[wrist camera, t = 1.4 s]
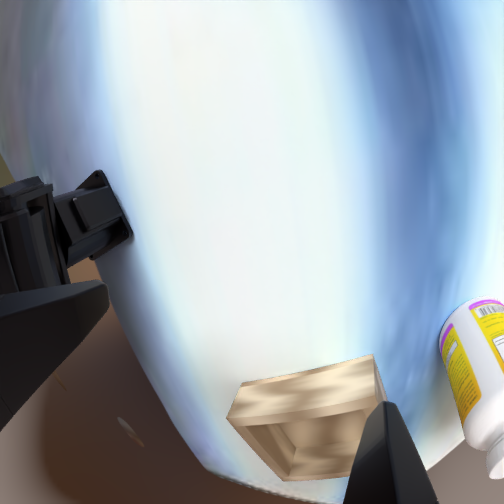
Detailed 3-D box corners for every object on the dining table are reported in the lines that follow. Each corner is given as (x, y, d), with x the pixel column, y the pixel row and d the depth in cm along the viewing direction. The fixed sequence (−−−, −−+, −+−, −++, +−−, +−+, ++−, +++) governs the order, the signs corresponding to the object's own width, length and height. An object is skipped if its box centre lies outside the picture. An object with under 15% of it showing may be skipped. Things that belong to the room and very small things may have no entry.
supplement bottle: (455, 371, 20) (484, 495, 9) (423, 329, 20) (456, 475, 8) (513, 326, 17) (571, 438, 6) (488, 275, 17) (572, 397, 5)
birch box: (291, 449, 29) (282, 481, 25) (242, 382, 26) (225, 418, 22) (396, 432, 24) (398, 467, 20) (372, 353, 22) (374, 395, 17)
